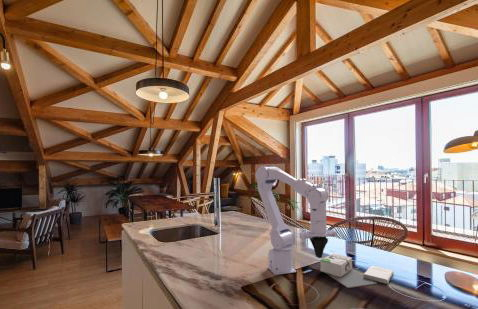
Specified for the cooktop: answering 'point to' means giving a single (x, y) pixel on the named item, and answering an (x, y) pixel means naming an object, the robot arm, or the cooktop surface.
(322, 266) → the ink box
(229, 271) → the cooktop surface
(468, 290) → the cooktop surface
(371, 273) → the external hard drive
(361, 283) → the mat
